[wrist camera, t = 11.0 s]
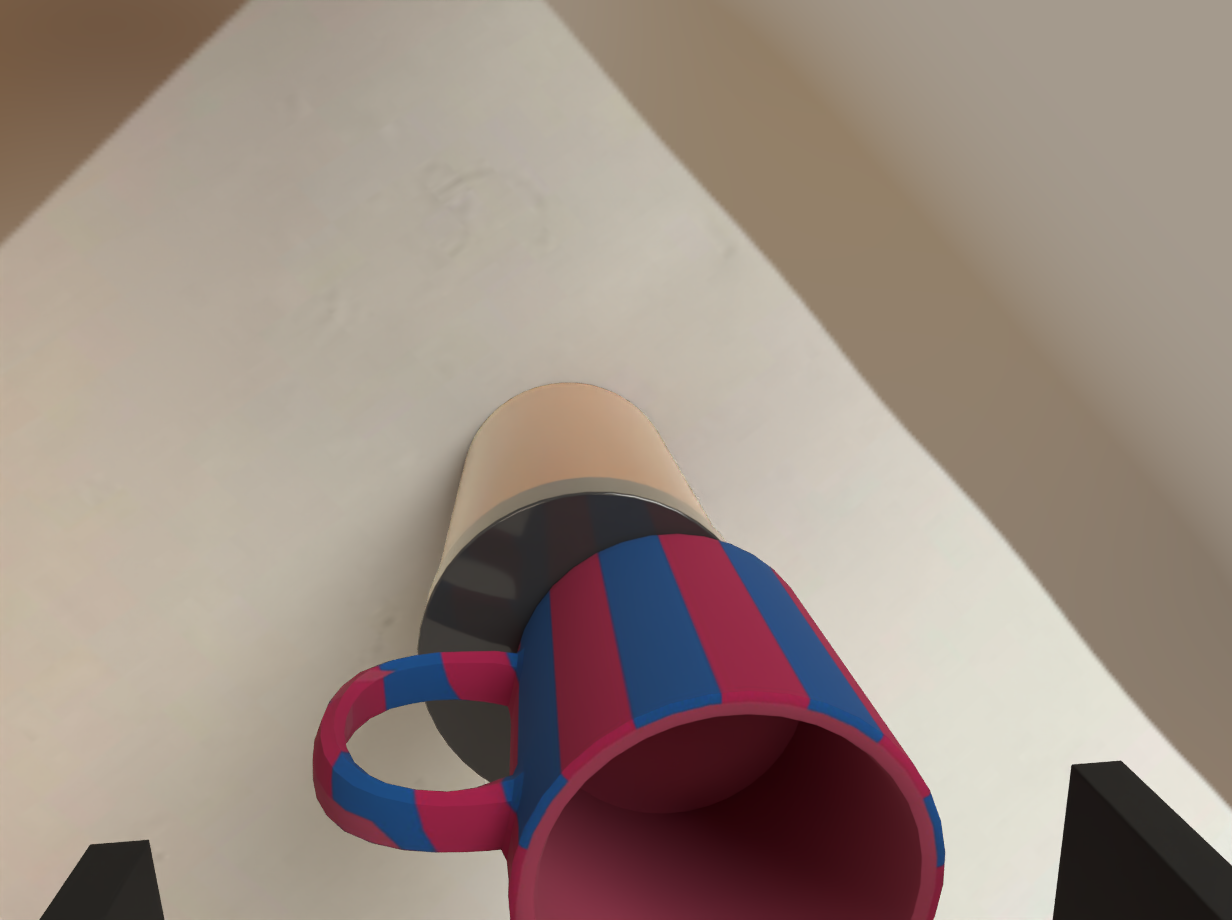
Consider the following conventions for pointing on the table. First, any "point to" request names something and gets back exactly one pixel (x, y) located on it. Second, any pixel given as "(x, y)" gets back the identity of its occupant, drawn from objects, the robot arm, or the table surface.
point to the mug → (662, 754)
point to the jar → (541, 531)
